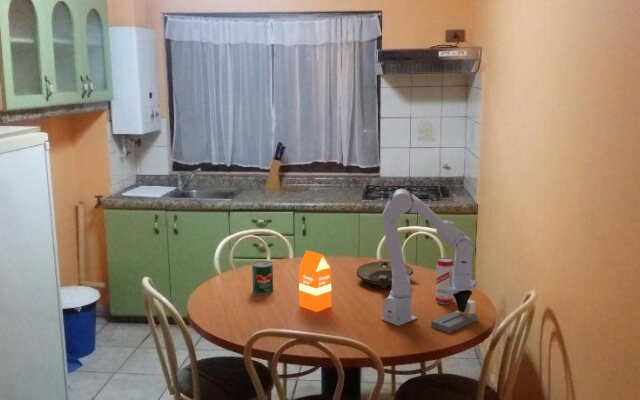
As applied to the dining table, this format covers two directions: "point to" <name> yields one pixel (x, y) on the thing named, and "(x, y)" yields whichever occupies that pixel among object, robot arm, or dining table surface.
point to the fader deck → (453, 321)
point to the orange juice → (314, 282)
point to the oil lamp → (379, 273)
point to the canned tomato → (262, 277)
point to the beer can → (444, 279)
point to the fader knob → (469, 307)
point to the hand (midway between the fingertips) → (461, 311)
